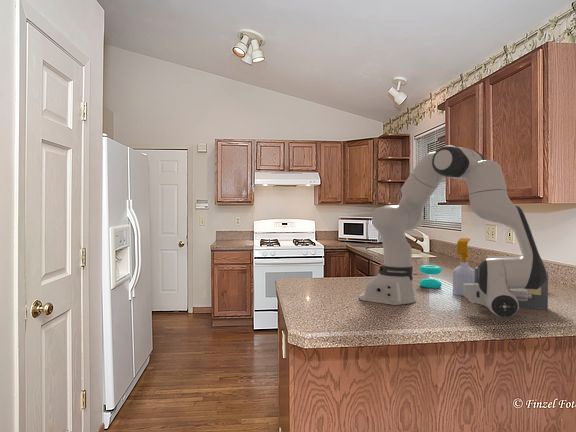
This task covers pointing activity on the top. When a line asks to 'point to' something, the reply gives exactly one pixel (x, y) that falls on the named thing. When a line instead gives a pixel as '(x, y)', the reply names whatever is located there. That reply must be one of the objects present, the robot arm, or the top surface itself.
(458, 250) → the soap bottle
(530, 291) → the button right
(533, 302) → the panel
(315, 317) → the top surface
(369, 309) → the top surface
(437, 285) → the donuts
